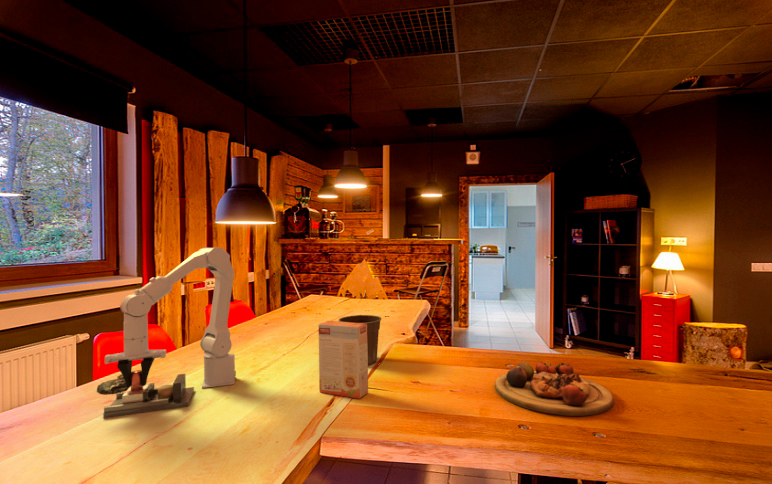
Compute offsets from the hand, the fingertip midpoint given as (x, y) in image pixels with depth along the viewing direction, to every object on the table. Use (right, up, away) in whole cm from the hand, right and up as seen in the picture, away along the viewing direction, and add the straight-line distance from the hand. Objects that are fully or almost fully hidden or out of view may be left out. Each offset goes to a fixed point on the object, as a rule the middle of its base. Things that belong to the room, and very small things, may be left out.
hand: (136, 385), depth 110 cm
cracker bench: (+4, -6, +1) cm, 7 cm away
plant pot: (+61, -5, +38) cm, 72 cm away
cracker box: (+58, -5, +7) cm, 58 cm away
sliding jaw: (+1, -4, 0) cm, 4 cm away
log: (-15, -6, +14) cm, 22 cm away
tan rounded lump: (+7, -4, +2) cm, 9 cm away
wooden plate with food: (+119, -5, +5) cm, 119 cm away
